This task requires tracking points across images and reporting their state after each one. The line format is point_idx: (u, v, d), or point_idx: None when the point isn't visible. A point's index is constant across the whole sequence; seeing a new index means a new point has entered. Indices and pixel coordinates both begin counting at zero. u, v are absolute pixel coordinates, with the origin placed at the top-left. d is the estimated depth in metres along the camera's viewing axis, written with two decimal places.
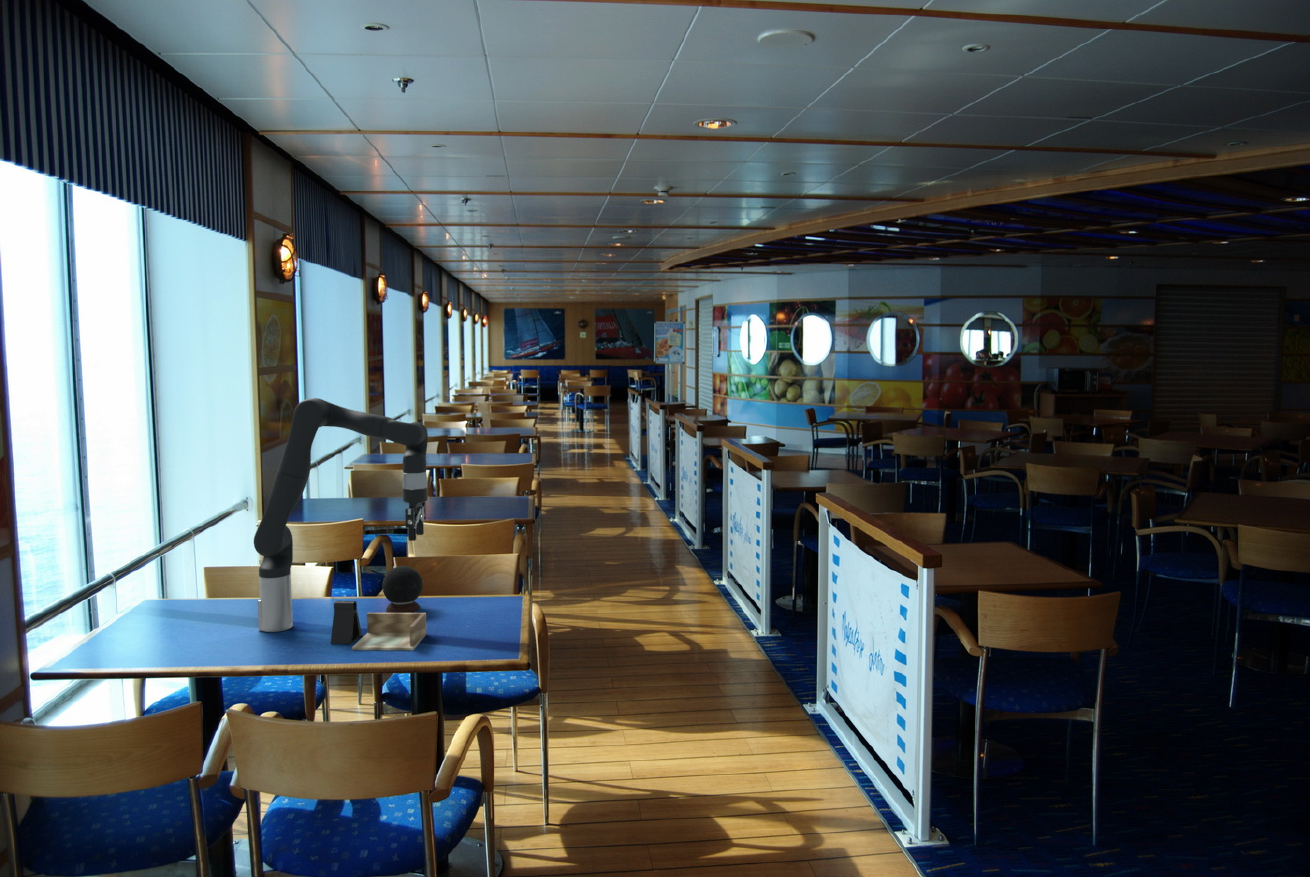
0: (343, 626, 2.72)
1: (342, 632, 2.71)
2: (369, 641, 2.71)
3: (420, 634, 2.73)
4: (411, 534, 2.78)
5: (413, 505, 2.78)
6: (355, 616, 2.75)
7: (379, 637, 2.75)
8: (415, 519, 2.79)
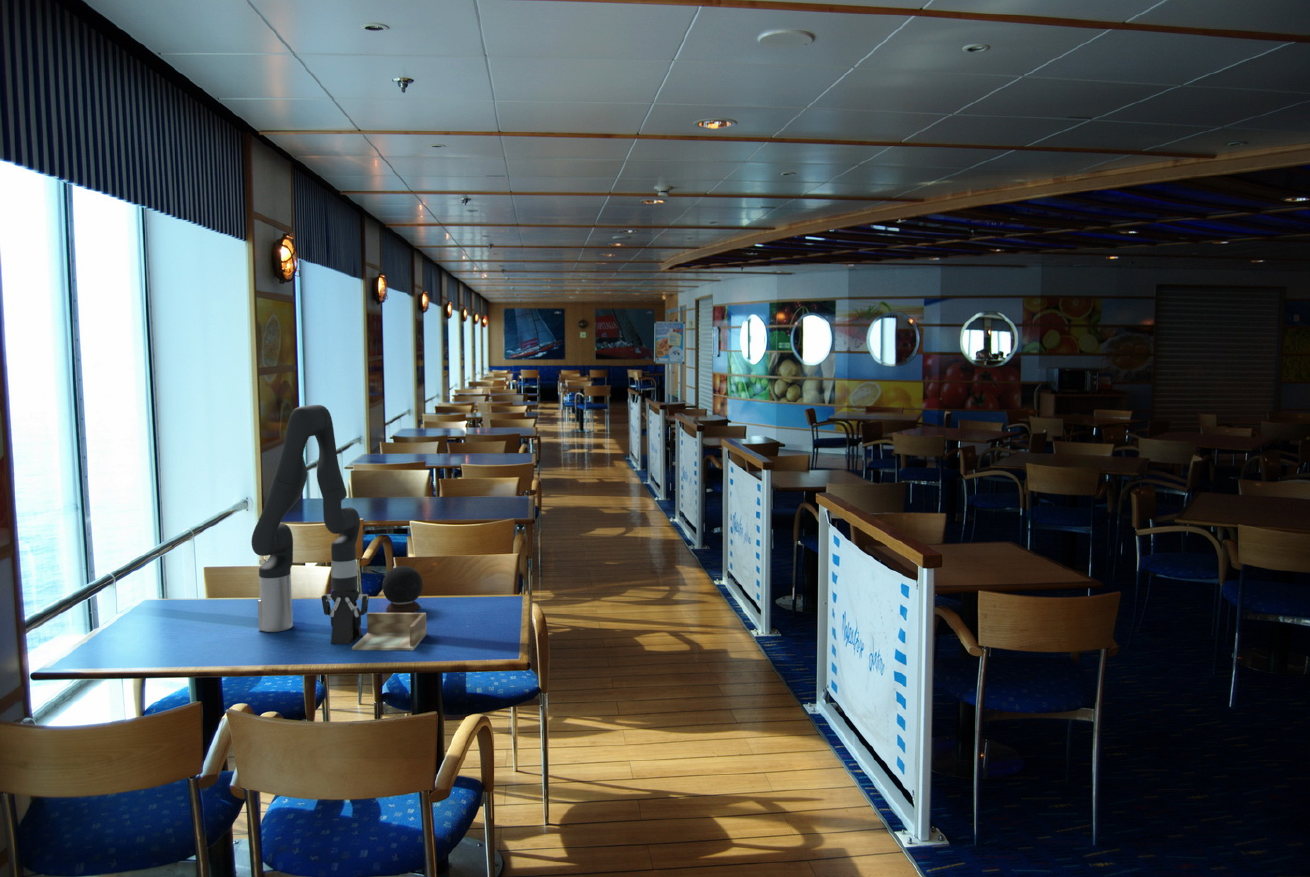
0: (343, 626, 2.72)
1: (342, 632, 2.71)
2: (369, 641, 2.71)
3: (420, 634, 2.73)
4: (360, 621, 2.75)
5: (357, 591, 2.74)
6: None
7: (379, 637, 2.75)
8: (357, 606, 2.75)
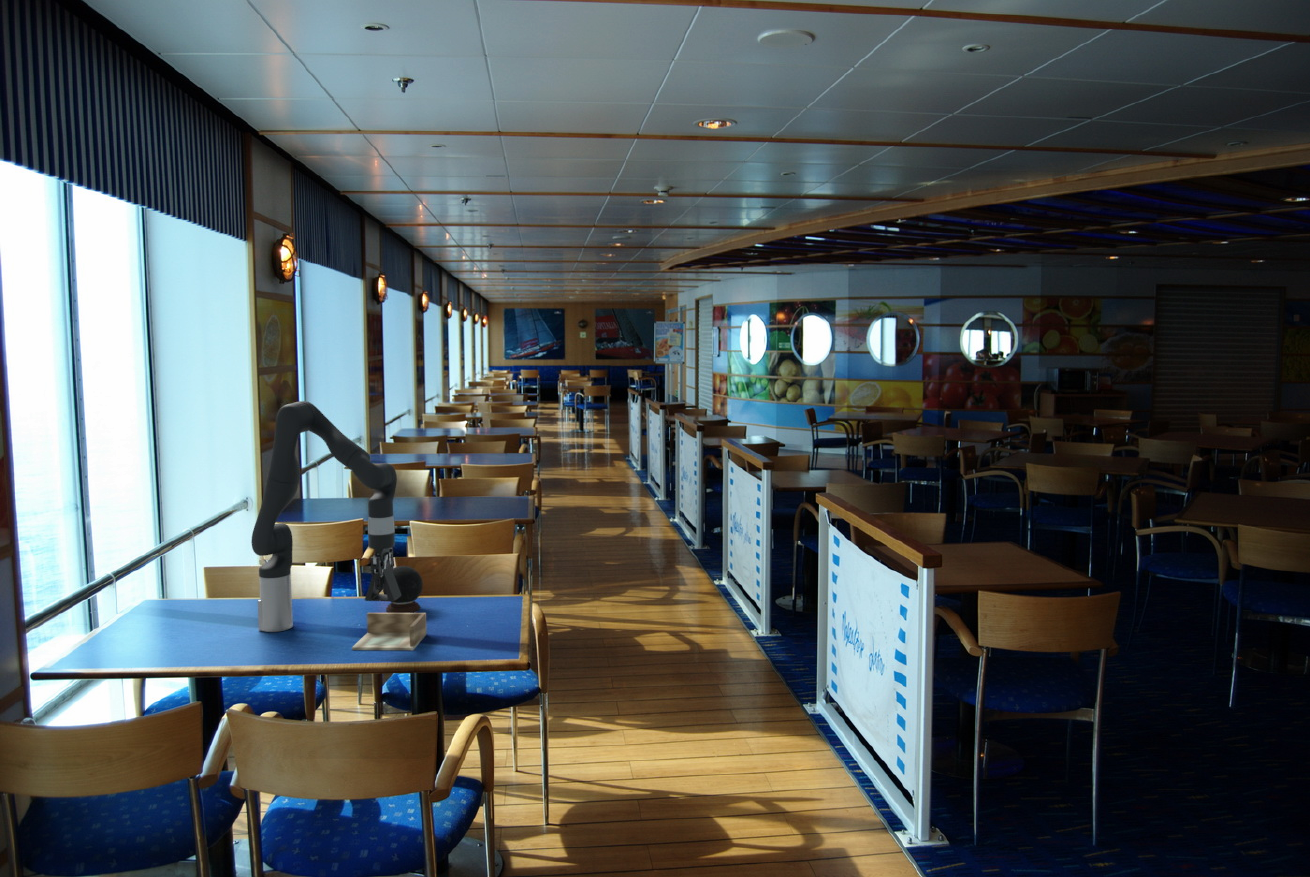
0: (392, 581, 2.69)
1: (394, 587, 2.69)
2: (369, 641, 2.71)
3: (420, 634, 2.73)
4: None
5: None
6: None
7: (379, 637, 2.75)
8: None
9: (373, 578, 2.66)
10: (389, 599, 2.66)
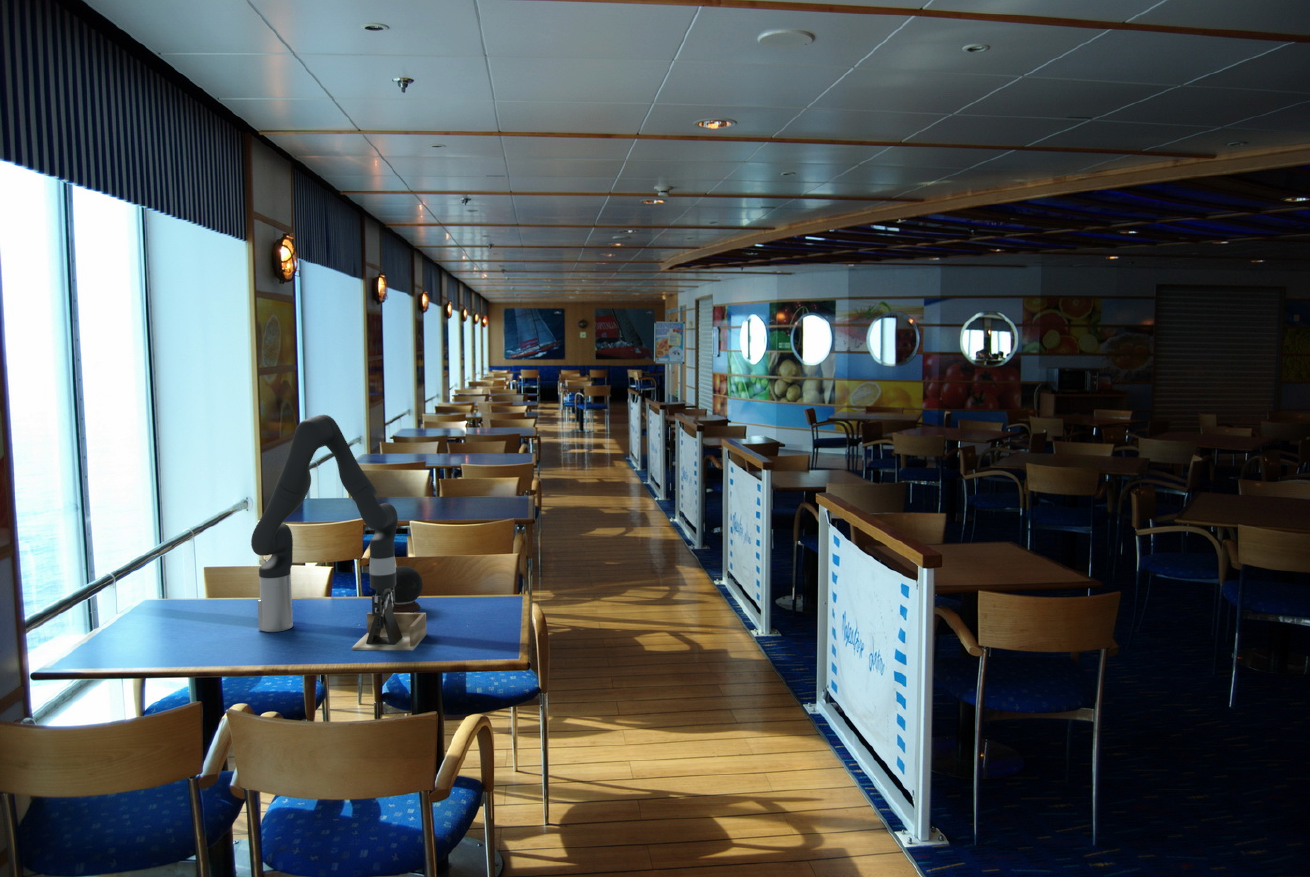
0: (393, 624, 2.71)
1: (395, 630, 2.71)
2: None
3: (420, 634, 2.73)
4: None
5: None
6: None
7: None
8: None
9: (374, 622, 2.67)
10: (390, 642, 2.68)
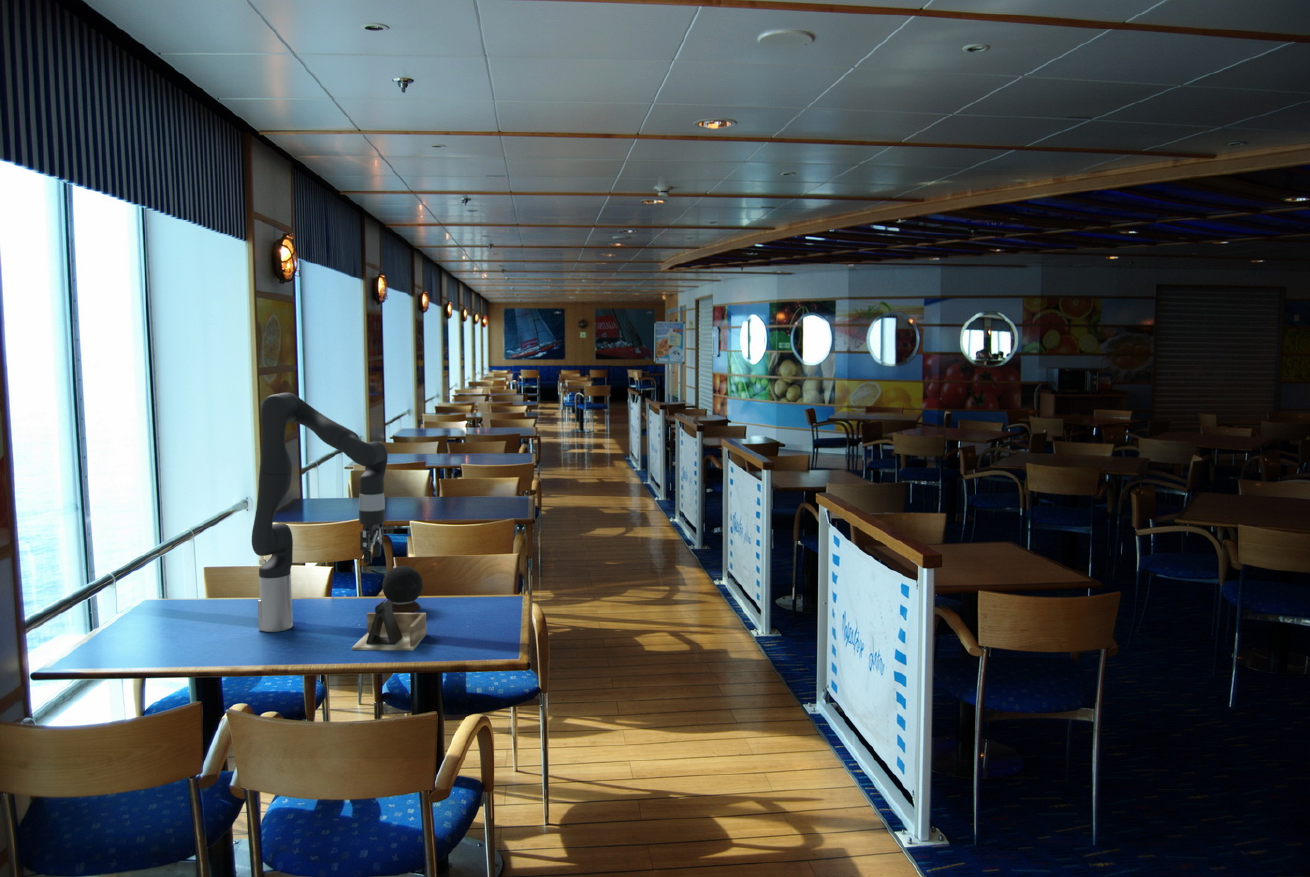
0: (393, 624, 2.71)
1: (395, 630, 2.71)
2: None
3: (420, 634, 2.73)
4: None
5: None
6: None
7: None
8: None
9: (374, 622, 2.67)
10: (390, 642, 2.68)
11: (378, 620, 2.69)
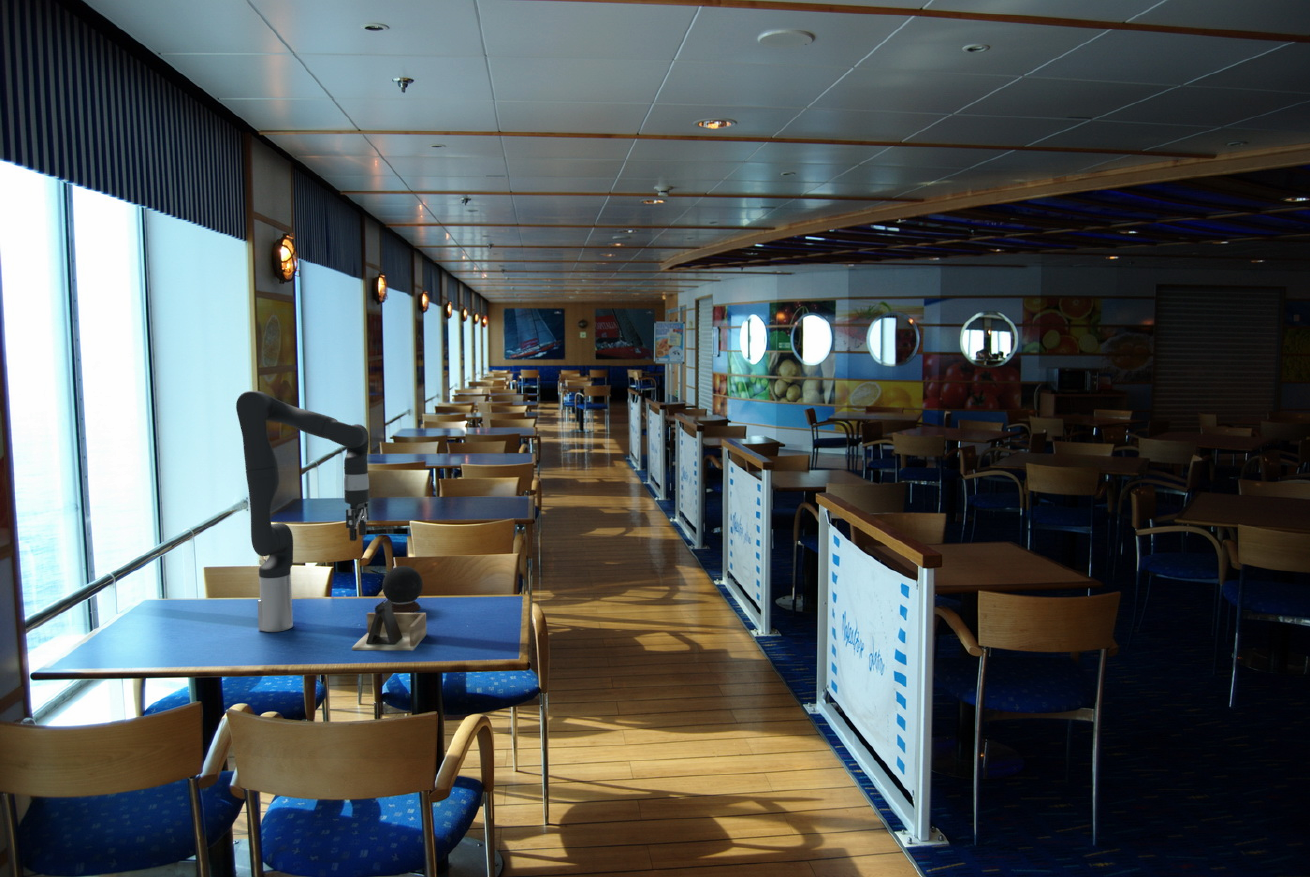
0: (393, 624, 2.71)
1: (395, 630, 2.71)
2: None
3: (420, 634, 2.73)
4: None
5: None
6: None
7: None
8: None
9: (374, 622, 2.67)
10: (390, 642, 2.68)
11: (378, 620, 2.69)
